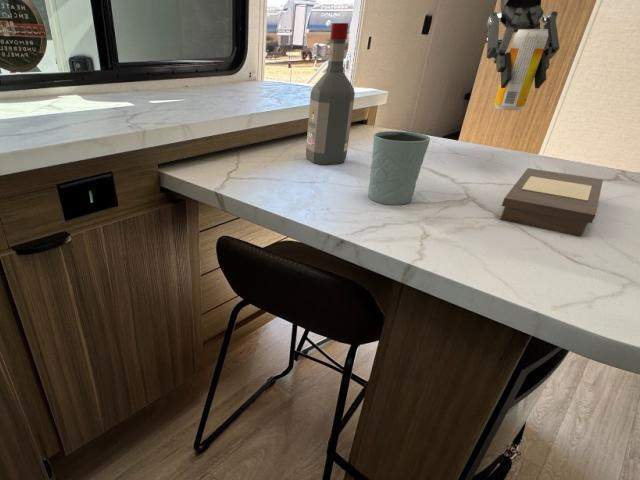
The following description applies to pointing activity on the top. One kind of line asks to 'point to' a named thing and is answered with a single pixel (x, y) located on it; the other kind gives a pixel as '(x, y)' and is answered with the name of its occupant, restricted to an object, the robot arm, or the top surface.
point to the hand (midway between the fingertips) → (523, 83)
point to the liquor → (331, 106)
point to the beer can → (522, 68)
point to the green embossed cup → (396, 166)
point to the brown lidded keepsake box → (553, 201)
